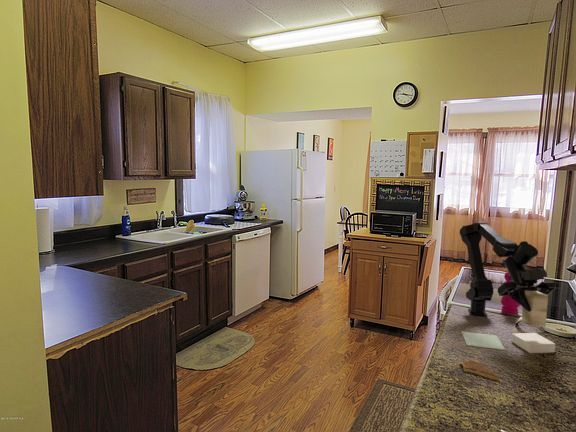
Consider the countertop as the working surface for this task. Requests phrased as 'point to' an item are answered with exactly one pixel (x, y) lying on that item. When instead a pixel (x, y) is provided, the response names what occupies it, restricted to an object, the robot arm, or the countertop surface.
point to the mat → (482, 340)
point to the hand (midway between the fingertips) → (537, 311)
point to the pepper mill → (509, 300)
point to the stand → (533, 342)
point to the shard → (478, 369)
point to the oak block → (535, 309)
